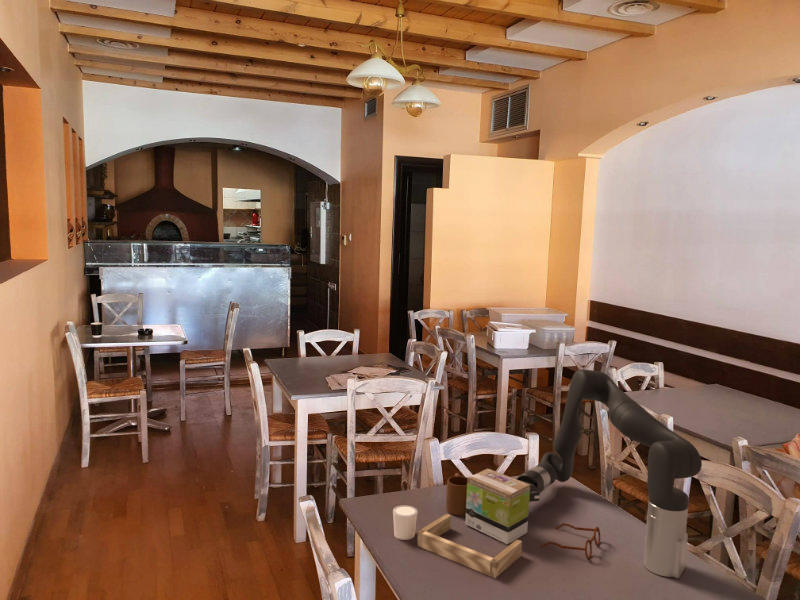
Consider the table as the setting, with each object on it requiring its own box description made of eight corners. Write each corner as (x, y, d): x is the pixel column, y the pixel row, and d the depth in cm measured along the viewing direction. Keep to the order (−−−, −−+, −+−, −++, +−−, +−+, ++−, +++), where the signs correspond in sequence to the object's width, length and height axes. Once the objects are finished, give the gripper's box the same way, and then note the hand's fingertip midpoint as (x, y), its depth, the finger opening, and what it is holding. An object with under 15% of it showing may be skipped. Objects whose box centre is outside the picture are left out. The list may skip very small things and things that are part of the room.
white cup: (395, 542, 169) (396, 517, 169) (389, 530, 176) (389, 506, 175) (420, 539, 171) (420, 515, 170) (412, 527, 178) (413, 503, 177)
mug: (443, 498, 197) (444, 469, 196) (467, 498, 197) (469, 470, 196) (447, 516, 185) (448, 485, 184) (472, 516, 185) (474, 486, 184)
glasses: (587, 563, 163) (589, 545, 162) (539, 548, 169) (540, 530, 169) (601, 542, 174) (602, 525, 173) (554, 529, 180) (555, 512, 180)
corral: (521, 555, 164) (522, 541, 164) (495, 578, 154) (495, 562, 153) (446, 527, 179) (446, 513, 178) (417, 545, 168) (417, 531, 167)
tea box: (463, 525, 180) (466, 476, 178) (485, 514, 187) (487, 467, 185) (507, 545, 169) (510, 493, 167) (528, 533, 176) (531, 483, 174)
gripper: (514, 464, 198) (486, 481, 185) (554, 476, 190) (527, 494, 176) (513, 487, 199) (485, 505, 185) (552, 499, 191) (526, 519, 177)
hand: (506, 500), depth 181 cm, fingers closed
